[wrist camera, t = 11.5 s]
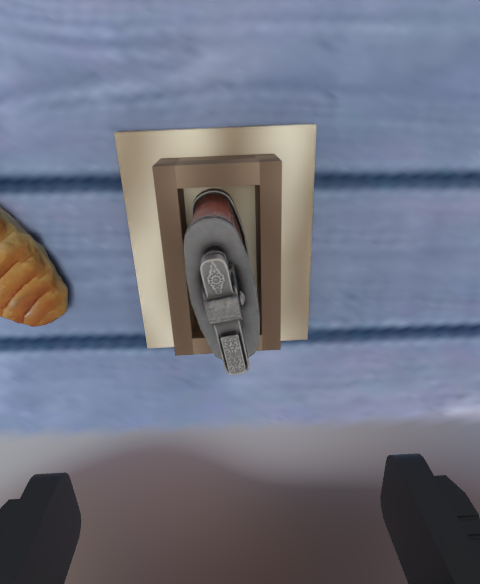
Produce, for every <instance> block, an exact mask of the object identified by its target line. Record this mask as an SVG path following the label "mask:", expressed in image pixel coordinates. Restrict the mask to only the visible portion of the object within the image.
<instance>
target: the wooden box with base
mask: <svg viewBox="0 0 480 584" xmlns="http://www.w3.org/2000/svg"><path fill="white" fill-rule="evenodd" d="M114 136H115V142H116V149H117V155H118V161H119V168H120V174H121V181H122V187H123V194H124V200H125V206H126V213H127V219H128V226H129V232H130V238H131V245H132V251H133V258H134V264H135V271H136V277H137V283H138V290H139V296H140V303H141V309H142V315H143V322H144V328H145V335H146V341H147V348H163V347H174V349H175V355H192V354H209V353H213V352H212V350H211V348H210V347H209V345H208V343H207V341H206V339H205V337H204V335H203V333H202V331H201V329H200V326H199V323H198V321H197V318H196V315H195V312H194V310H193V307H192V304H191V300H190V295H189V290H188V284H187V279H186V274H185V259H184V238H185V233H186V230H187V229H188V227H189V226H190V224H191V223H192V206H193V201H194V199H195V198H196V196H197V195H198V194H199V193H201V192H202V191H204V190H206V189H209V188H218V189H222V190H224V191H225V192H227V193H228V194H229V195H230V196H231V198H232V200H233V202H234V205H235V207H236V209H237V212H238V214H239V217H240V219H241V222H242V226H243V230H244V233H245V237H246V241H247V245H248V251H249V260H250V265H251V269H252V273H253V276H254V280H255V284H256V289H257V296H258V305H259V314H260V334H259V346H258V349H257V350H256V351H262V350H279V349H280V347H281V341H287V340H305V339H308V317H309V292H310V268H311V244H312V219H313V195H314V171H315V146H316V124H288V125H264V126H240V127H215V128H191V129H166V130H142V131H118V132H115V133H114Z"/></svg>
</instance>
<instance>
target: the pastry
mask: <svg viewBox="0 0 480 584" xmlns="http://www.w3.org/2000/svg"><path fill="white" fill-rule="evenodd" d="M67 308H68V288H67V286H66V285H65V283H64V282H63V281H62V279H61V277H60V275H59V274H58V273H57V271H56V269H55V266H54V265H53V263H52V262H51V261H50V259H49V257H48V254H47V252H46V250H45V248H44V246H43V245H42V244H40V243H38V242H37V241H35V240H34V239H33V237H32V236H31V235H30V234H29V233H28V232H27V231H26V230H25V229H24V228H23V227H22V226H21V225H20V224H19V223H18V221H17V220H16V219H14V218H13V217H12V216H11V215H10V214H9V213H7V212H6V211H5V210H4V209H3V208H2V207H0V317H4V318H7V319H10V320H13V321H15V322H17V323H23V324H26V325H29V326H32V327H34V326H40V325H46V324H48V323H51V322H53V321H54V320H56V319H58V318H59V317H60V316H62V315H63V314H64V313H65V312H66V311H67Z"/></svg>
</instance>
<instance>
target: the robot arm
mask: <svg viewBox="0 0 480 584" xmlns="http://www.w3.org/2000/svg"><path fill="white" fill-rule="evenodd" d="M380 499H381V500H380V501H381V510H382V515H383V519H384V522H385V525H386V527H387V530H388V532H389V535H390V537H391V540H392V543H393V545H394V548H395V551H396V553H397V556H398V558H399V561H400V564H401V566H402V569H403V571H404V574H405V576H406V579H407V582H408V584H480V518H479V514H478V513H477V511H476V509H475V508H474V506H473V505H472V503H471V502H470V500H469V498H468V497H467V495H466V494H465V492H463V491H462V490H461V489H460V488H459V487H458V486H457V485H456V484H455V483H453V482H452V481H451V480H450V479H449V478H448V477H447V476H446V475H443V476H434V475H433V473H432V472H431V470H430V468H429V466H428V465H427V463H426V461H425V459H424V458H423V457H422V456H421V455H420V454H401V455H389V456H388V457H387V460H386V465H385V471H384V478H383V484H382V490H381V497H380ZM80 528H81V514H80V510H79V506H78V503H77V500H76V496H75V493H74V490H73V486H72V483H71V480H70V477H69V475H68V474H67V473H51V474H36V475H34V476H33V477H31V479H30V481H29V482H28V484H27V486H26V488H25V490H24V492H23V494H22V496H21V498H20V499H14V500H13V499H12V500H8V501H7V502H6V503H5V504H4V505H3V506H2V507H1V509H0V584H64V582H65V579H66V576H67V573H68V570H69V567H70V564H71V561H72V558H73V555H74V552H75V549H76V546H77V542H78V539H79V534H80Z"/></svg>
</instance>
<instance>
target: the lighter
mask: <svg viewBox="0 0 480 584" xmlns="http://www.w3.org/2000/svg"><path fill="white" fill-rule="evenodd" d="M184 259H185V274H186V279H187V284H188V290H189V295H190V300H191V304H192V307H193V310H194V312H195V315H196V318H197V321H198V323H199V326H200V329H201V331H202V333H203V335H204V337H205V339H206V341H207V343H208V345H209V347H210V348H211V350H212V352H213V353H214V354H215V356H216V357H218V358H220V359H222V360H223V363H224V367H225V370H226V372H227V373H228V374H231V375H237V374H242V373H245V372H246V371H248V369H249V361H248V358H249V357H250V356H252V355H253V354H254V353H255V352H256V350H257V349H258V346H259V334H260V314H259V305H258V296H257V289H256V284H255V280H254V276H253V273H252V269H251V265H250V260H249V251H248V245H247V241H246V237H245V233H244V230H243V226H242V222H241V219H240V217H239V214H238V212H237V209H236V207H235V205H234V202H233V200H232V198H231V196H230V195H229V194H228V193H227V192H225V191H224V190H222V189H218V188H209V189H206V190H204V191H202V192H201V193H199V194H198V195H197V196H196V198H195V199H194V201H193V206H192V223H191V224H190V226H189V227H188V229H187V230H186V233H185V238H184Z"/></svg>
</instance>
